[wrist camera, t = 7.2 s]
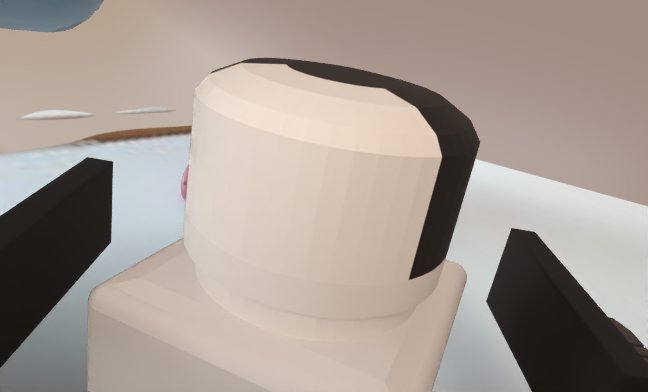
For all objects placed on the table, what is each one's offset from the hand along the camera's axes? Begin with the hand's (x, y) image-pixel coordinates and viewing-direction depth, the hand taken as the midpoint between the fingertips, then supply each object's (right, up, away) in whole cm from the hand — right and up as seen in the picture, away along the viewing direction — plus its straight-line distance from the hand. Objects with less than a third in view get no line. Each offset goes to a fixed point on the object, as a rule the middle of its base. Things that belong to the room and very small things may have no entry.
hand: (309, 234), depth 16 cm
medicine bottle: (-1, -7, -1) cm, 8 cm away
